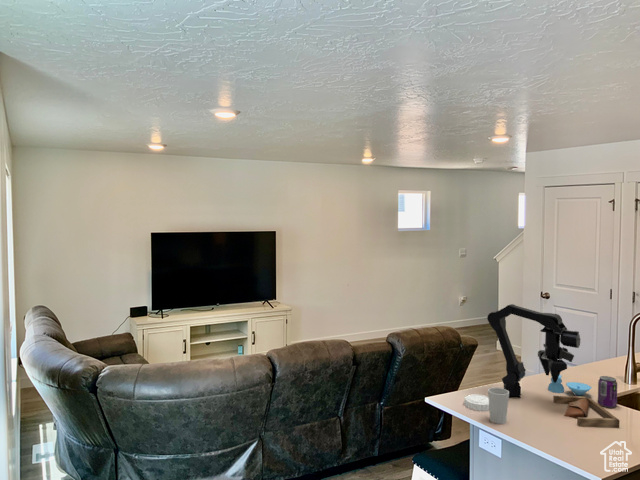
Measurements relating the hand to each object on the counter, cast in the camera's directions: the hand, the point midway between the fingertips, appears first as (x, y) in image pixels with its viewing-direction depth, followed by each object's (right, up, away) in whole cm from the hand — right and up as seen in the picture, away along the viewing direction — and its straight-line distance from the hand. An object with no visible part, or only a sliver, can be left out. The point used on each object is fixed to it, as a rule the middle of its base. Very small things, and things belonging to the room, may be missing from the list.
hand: (551, 378), depth 205 cm
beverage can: (+25, -12, +1) cm, 28 cm away
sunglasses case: (+8, -13, -6) cm, 16 cm away
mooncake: (-32, -12, 0) cm, 34 cm away
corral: (+9, -12, -9) cm, 17 cm away
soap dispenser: (+16, -12, +15) cm, 25 cm away
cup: (-29, -12, -15) cm, 35 cm away
